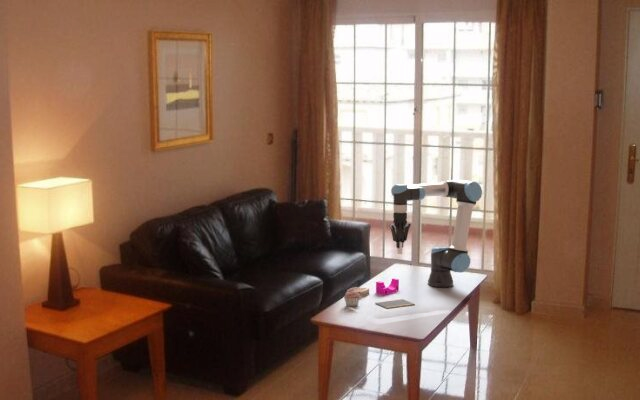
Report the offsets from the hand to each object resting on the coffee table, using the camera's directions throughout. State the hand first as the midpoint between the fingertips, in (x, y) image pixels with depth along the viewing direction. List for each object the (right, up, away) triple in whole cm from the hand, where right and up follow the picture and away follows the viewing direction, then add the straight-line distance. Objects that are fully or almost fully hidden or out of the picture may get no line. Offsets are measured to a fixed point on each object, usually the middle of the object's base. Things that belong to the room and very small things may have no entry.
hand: (399, 253), depth 438 cm
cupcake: (-27, -28, -10) cm, 40 cm away
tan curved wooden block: (-27, -23, +14) cm, 38 cm away
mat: (-3, -27, -8) cm, 29 cm away
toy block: (-4, -25, +19) cm, 31 cm away
